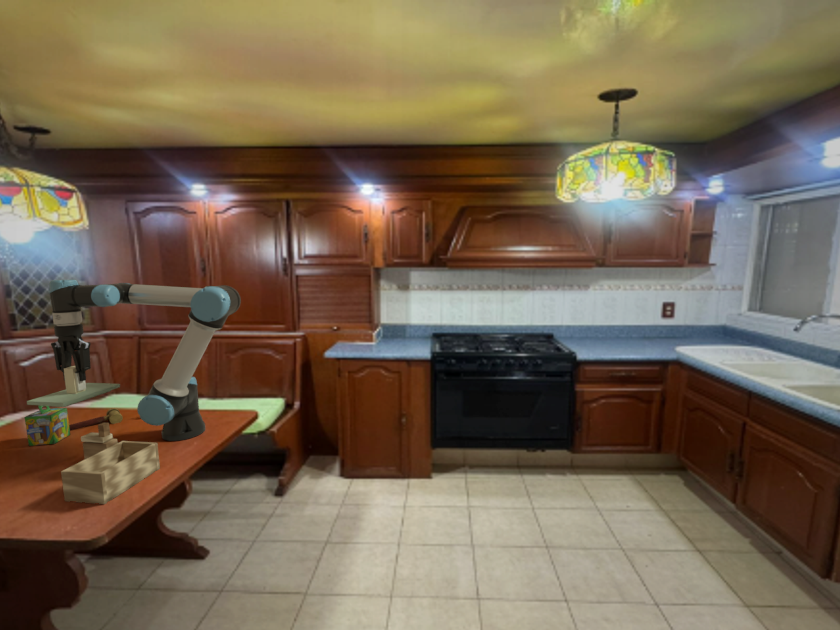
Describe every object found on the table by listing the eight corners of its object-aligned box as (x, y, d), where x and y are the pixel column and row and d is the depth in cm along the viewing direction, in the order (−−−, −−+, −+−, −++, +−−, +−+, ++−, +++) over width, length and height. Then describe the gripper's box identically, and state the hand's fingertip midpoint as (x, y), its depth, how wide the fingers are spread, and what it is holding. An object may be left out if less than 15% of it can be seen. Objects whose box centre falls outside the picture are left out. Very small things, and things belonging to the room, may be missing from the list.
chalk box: (54, 444, 151) (50, 407, 150) (27, 446, 150) (22, 408, 148) (71, 434, 160) (67, 399, 159) (45, 436, 159) (41, 400, 157)
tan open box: (100, 464, 135) (96, 436, 134) (159, 468, 132) (157, 439, 131) (36, 498, 116) (31, 465, 114) (104, 504, 112) (100, 470, 111)
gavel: (57, 429, 158) (55, 422, 165) (59, 440, 159) (58, 432, 166) (121, 412, 173) (118, 406, 180) (123, 422, 173) (119, 416, 180)
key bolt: (91, 437, 133) (89, 420, 132) (112, 438, 132) (110, 421, 131) (81, 441, 129) (79, 425, 129) (103, 442, 128) (101, 426, 128)
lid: (88, 388, 153) (84, 359, 151) (120, 389, 151) (117, 360, 149) (27, 407, 132) (23, 374, 131) (64, 409, 130) (59, 375, 129)
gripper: (36, 325, 136) (44, 392, 139) (78, 326, 133) (86, 393, 136) (58, 322, 143) (66, 385, 146) (99, 322, 141) (106, 387, 144)
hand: (76, 389), depth 141 cm, fingers closed on lid, 4 cm apart
